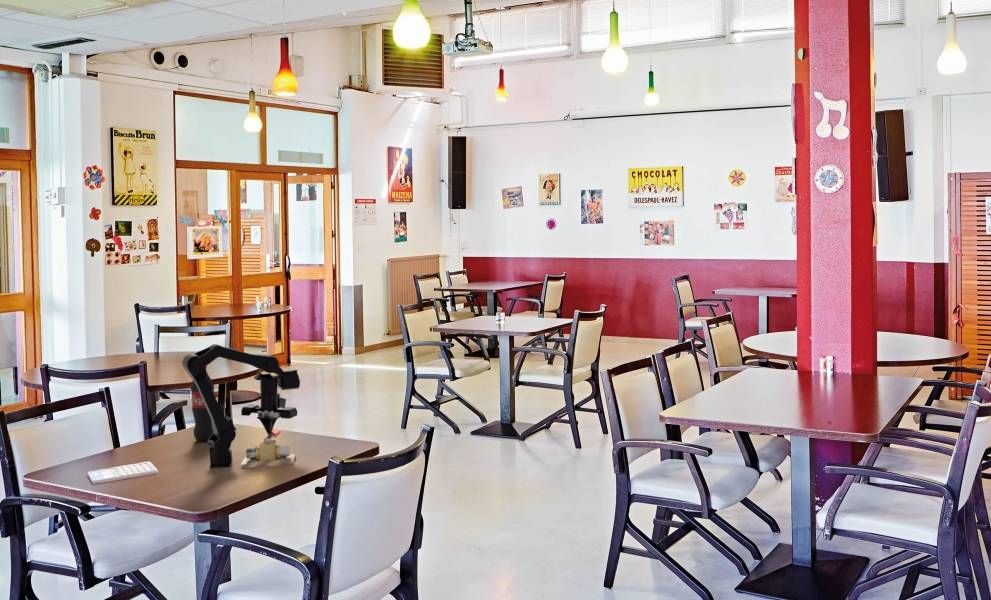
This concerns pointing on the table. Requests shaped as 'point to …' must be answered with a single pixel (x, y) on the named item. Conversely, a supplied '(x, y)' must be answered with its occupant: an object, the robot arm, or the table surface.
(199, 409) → the cola bottle
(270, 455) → the brass valve
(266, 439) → the valve lever
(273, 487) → the table surface
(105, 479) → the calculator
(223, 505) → the table surface
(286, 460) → the mounting board
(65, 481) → the table surface
